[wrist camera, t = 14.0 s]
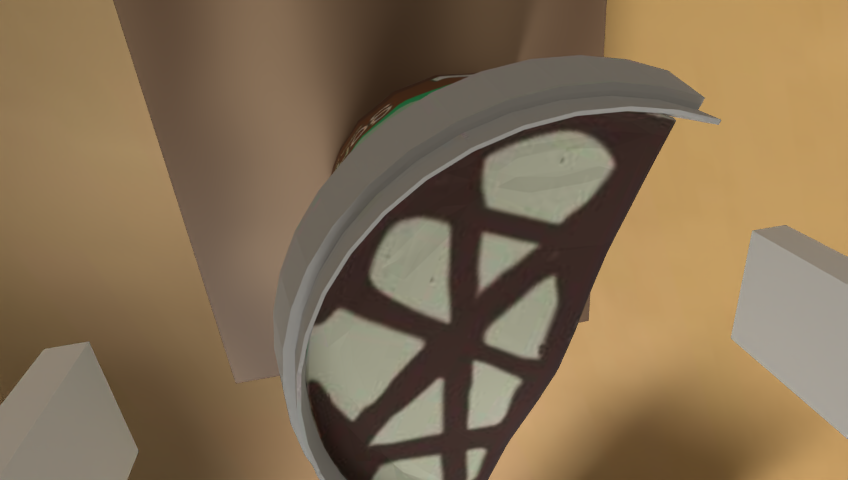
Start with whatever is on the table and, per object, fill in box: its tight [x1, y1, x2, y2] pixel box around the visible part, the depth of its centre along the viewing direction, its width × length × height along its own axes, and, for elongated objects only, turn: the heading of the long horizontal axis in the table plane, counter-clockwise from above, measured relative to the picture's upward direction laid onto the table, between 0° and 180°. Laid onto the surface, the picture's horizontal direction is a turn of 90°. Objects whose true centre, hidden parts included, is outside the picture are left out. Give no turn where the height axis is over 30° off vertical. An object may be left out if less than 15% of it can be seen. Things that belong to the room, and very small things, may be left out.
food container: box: [273, 55, 721, 480], centre depth 14 cm, size 12×6×10 cm, turn 161°
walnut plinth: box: [113, 0, 607, 383], centre depth 21 cm, size 15×15×5 cm
